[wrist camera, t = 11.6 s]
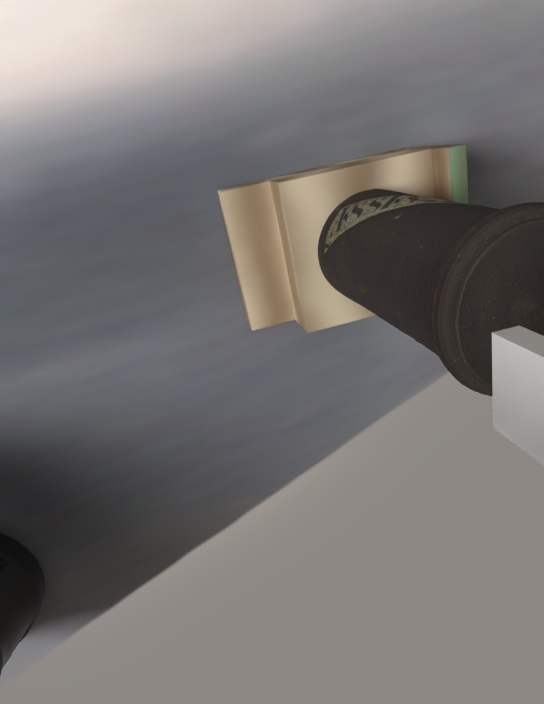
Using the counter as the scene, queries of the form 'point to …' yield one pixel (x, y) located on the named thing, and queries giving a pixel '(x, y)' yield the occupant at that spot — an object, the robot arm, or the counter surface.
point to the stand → (319, 229)
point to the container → (440, 271)
